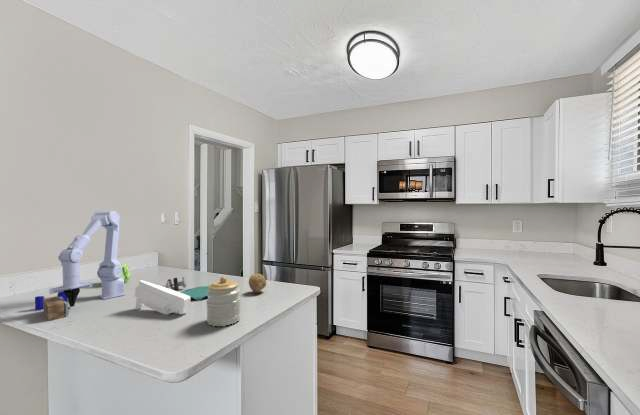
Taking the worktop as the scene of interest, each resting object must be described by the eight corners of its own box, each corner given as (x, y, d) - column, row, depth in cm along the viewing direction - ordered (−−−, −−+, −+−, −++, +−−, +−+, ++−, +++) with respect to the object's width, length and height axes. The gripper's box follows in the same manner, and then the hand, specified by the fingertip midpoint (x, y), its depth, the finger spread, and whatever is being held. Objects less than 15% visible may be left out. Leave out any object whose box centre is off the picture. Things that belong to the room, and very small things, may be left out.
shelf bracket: (142, 307, 138) (146, 278, 137) (188, 325, 130) (193, 295, 129) (130, 311, 133) (134, 282, 132) (178, 331, 124) (182, 299, 123)
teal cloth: (170, 298, 151) (170, 293, 151) (216, 284, 177) (216, 280, 177) (197, 304, 142) (197, 299, 142) (241, 288, 168) (241, 283, 168)
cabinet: (58, 309, 136) (57, 295, 136) (64, 317, 126) (64, 303, 126) (43, 312, 133) (43, 298, 132) (48, 321, 122) (48, 306, 122)
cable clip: (59, 301, 148) (58, 289, 148) (67, 301, 147) (66, 289, 147) (32, 310, 136) (32, 296, 136) (40, 310, 135) (40, 297, 135)
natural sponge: (258, 289, 163) (258, 271, 163) (270, 291, 158) (269, 273, 158) (245, 293, 156) (245, 274, 156) (257, 296, 151) (256, 276, 151)
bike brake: (189, 287, 166) (167, 288, 176) (188, 275, 167) (165, 277, 176) (167, 294, 154) (144, 295, 164) (165, 281, 155) (142, 283, 164)
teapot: (96, 288, 170) (95, 266, 170) (99, 283, 182) (99, 262, 182) (129, 284, 178) (129, 263, 178) (131, 279, 190) (130, 259, 190)
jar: (221, 330, 110) (221, 282, 110) (199, 323, 117) (198, 278, 117) (247, 318, 121) (247, 275, 121) (226, 312, 128) (225, 271, 128)
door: (64, 306, 138) (63, 296, 138) (70, 314, 128) (70, 303, 128) (59, 307, 137) (59, 297, 137) (65, 315, 126) (65, 304, 126)
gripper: (50, 280, 126) (51, 312, 126) (93, 274, 137) (94, 303, 137) (48, 278, 131) (49, 309, 131) (89, 272, 141) (90, 300, 142)
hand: (72, 306), depth 134 cm, fingers closed
